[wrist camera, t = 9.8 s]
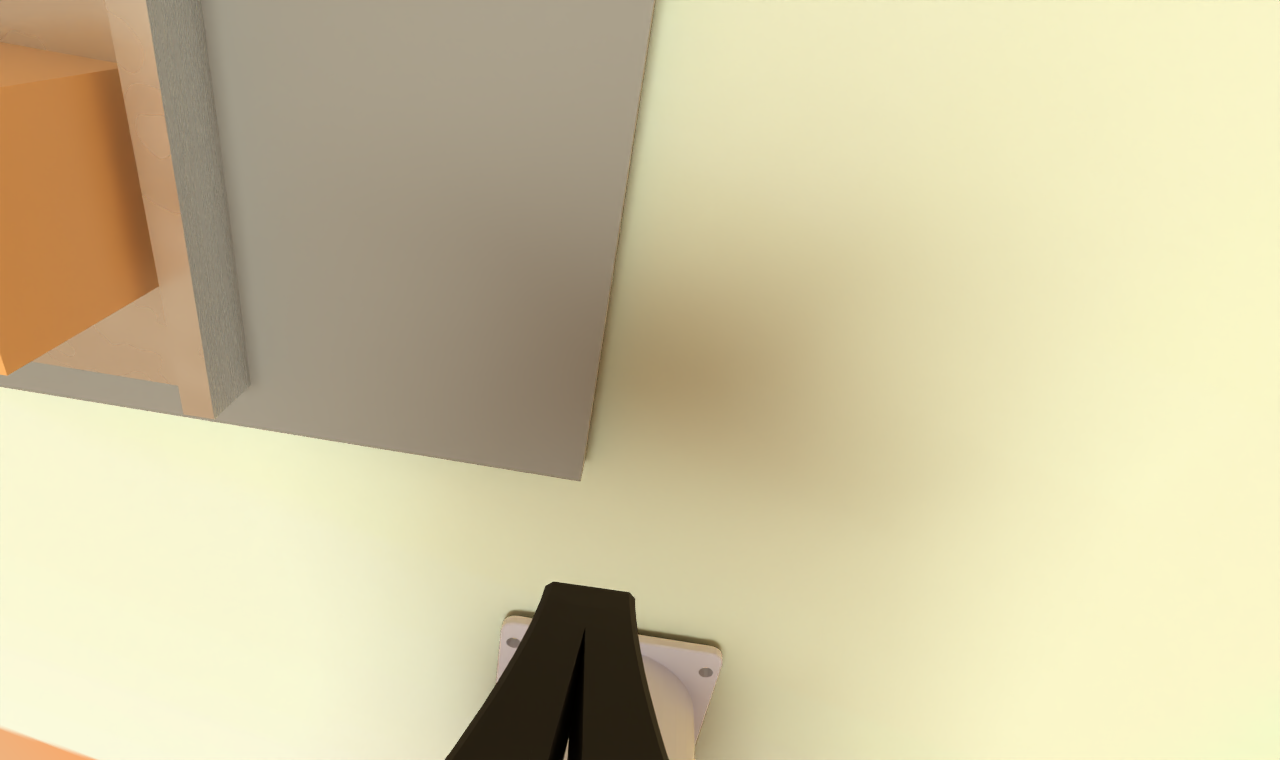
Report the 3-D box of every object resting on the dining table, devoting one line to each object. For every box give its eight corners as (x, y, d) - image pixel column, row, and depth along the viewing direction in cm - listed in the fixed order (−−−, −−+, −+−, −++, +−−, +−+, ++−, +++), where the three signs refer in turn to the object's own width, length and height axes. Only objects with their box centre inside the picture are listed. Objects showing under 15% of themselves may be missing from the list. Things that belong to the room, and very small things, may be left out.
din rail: (250, 384, 20) (214, 419, 18) (6, 344, 20) (-52, 376, 18) (192, -70, 15) (133, -76, 13) (-146, -134, 14) (-249, -148, 13)
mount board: (584, 461, 22) (580, 481, 21) (-7, 364, 21) (-36, 381, 20) (665, -65, 15) (664, -67, 14) (-206, -232, 14) (-263, -245, 14)
